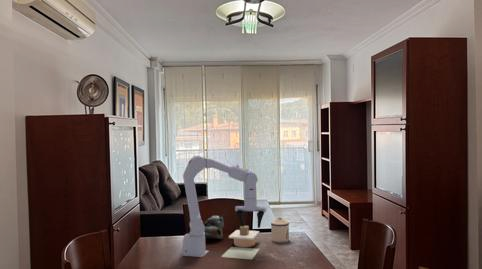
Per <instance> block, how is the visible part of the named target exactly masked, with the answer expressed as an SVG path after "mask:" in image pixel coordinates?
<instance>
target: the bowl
mask: <svg viewBox="0 0 482 269" xmlns="http://www.w3.org/2000/svg"><path fill="white" fill-rule="evenodd" d="M256 244H257V243H256V237H255V238H254V240H248V239H233V245H234V247H240V248H252V247H253V246H255V245H256Z"/></svg>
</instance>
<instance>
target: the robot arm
mask: <svg viewBox="0 0 482 269" xmlns="http://www.w3.org/2000/svg"><path fill="white" fill-rule="evenodd" d="M211 168H213V169H215V170H218V171H221V172H222V173H225V174H226V173H227V174H228V177H229V178H230V179H231V178H232V179H234V180H237V181H240V182H244V183H243V184H244V185H243V194H244V196H243V197H244V200H243V203H244V205H236V206H235V207H234V211H235V212H236V215H237V216H238V218H239V222H240V224H241V225H240V226H242V227H244V226H246V225H245V212H257V213H256V218H257V228H258V229H259V228H261V224H262V220H263V217H264V214H265V213H266V212H267V207H266V206H265V207H264V206H257V204H258V202H257V201H258V200H257V183H258V179H259V178H258V176H257V175H256V173H255V172H253V171H250V170H249V169H247V168H246V169H245V168H243V167H240V165H238V164H236V165H231V166H230V165H226V164H224V163H222V162H219V161H218V160H215V159H212V158H208V157H202V156H201V155H193V156H192V158H191V159H189V160H188V162H187V165H186V167H185V170H184V172H183V175H182V178H183V184H184V188H185V195H186V200H187V206H188V212H189V219H190V220H189V223H188V226H189V228H190V231H189V232H188V233H186V234H184V236H183V241H182V242H183V244H182V246H183V250H182V251H183V253H182V256H184V257H197V258H198V257H199V258H202V257H205V255H206V254H208V253H209V252H210V251H209V250H207V249H206V238H205V232H204V231H205V225H204V221H203V220H202V216H201V212H200V206H199V202H198V195H197V190H196V184H195V183H196V182H195V178H196V177H197V175H198V174H199V173H201V172H202V171H203V170H205V169H206V170H207V169H211Z"/></svg>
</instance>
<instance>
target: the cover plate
mask: <svg viewBox="0 0 482 269" xmlns="http://www.w3.org/2000/svg"><path fill="white" fill-rule="evenodd" d="M259 234H260V231H259V230H250V226H249V225H244V227H242V225H240V226H239V229H236V230H234V232H232V233H230V235H228V239H233V240H234V239H248V240H254V238H255V239H256V237H258V235H259Z"/></svg>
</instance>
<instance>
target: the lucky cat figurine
mask: <svg viewBox="0 0 482 269" xmlns="http://www.w3.org/2000/svg"><path fill="white" fill-rule="evenodd" d="M203 224H204V226H205V231H204V232H205V239H211V240H212V239H215V240H223V238H224V235H223V228H224V226H225V223H224V214H221V215H212V216H210V217H209V218H208V219H207V220H205V221H203Z"/></svg>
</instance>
